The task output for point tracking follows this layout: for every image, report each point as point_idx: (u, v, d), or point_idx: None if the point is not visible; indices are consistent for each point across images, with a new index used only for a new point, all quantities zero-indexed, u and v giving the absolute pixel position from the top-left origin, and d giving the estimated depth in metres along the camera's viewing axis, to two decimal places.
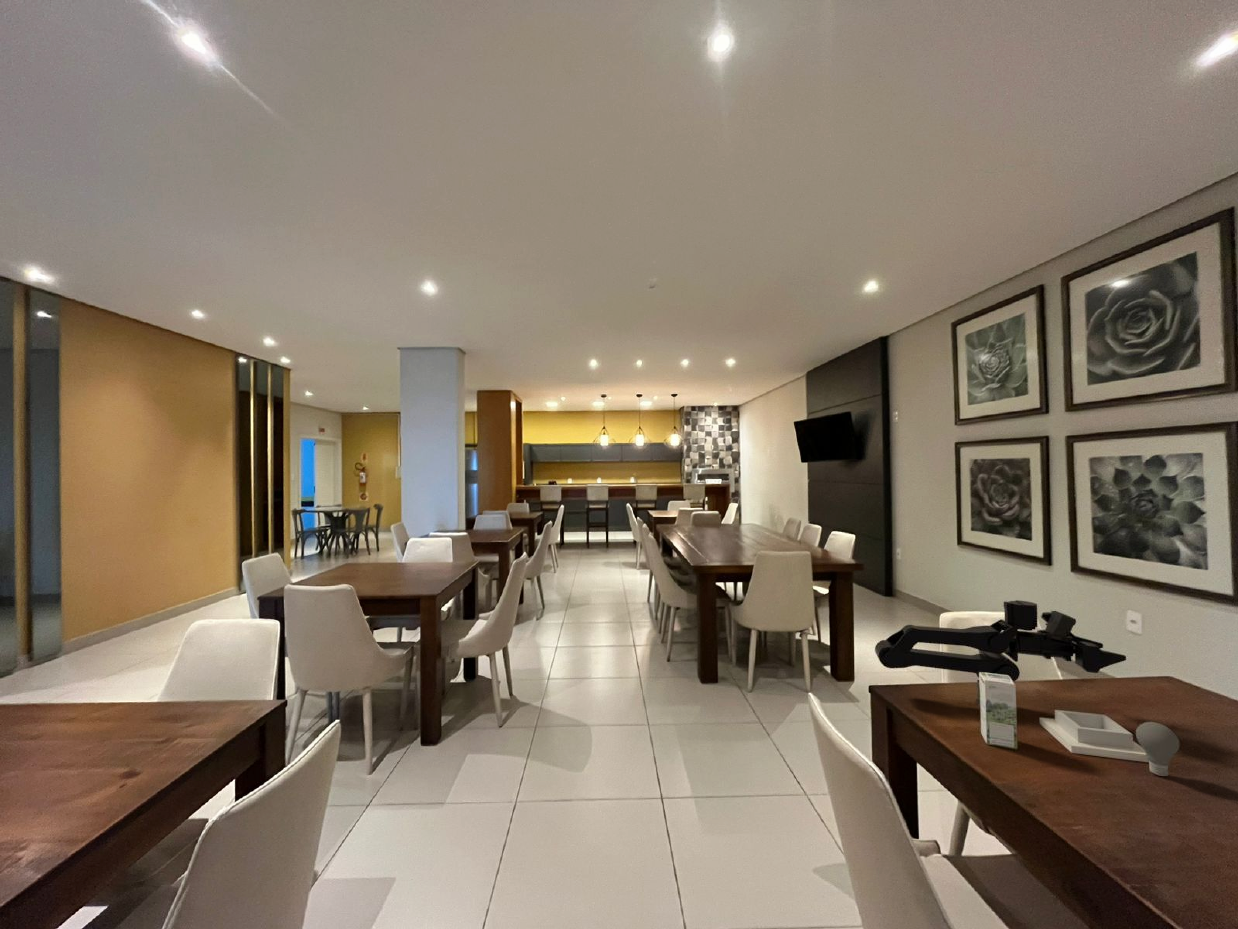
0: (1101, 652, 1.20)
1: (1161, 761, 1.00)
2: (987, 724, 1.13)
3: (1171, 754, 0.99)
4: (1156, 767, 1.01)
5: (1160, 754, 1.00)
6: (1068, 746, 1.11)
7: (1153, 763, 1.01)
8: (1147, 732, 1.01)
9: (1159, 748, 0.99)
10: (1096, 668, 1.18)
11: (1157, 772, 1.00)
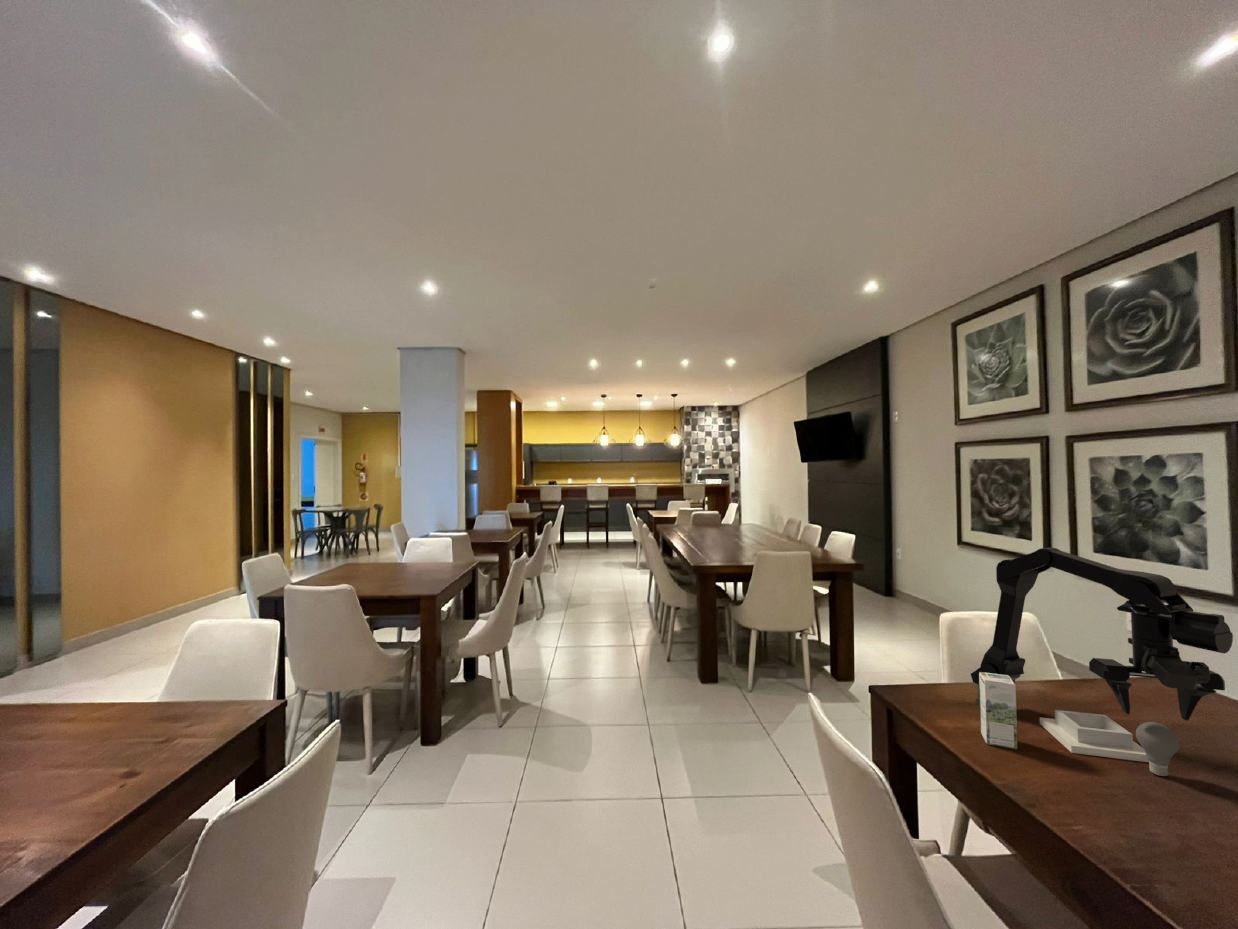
0: (1118, 687, 1.03)
1: (1161, 761, 1.00)
2: (987, 724, 1.13)
3: (1171, 754, 0.99)
4: (1156, 767, 1.01)
5: (1160, 754, 1.00)
6: (1068, 746, 1.11)
7: (1153, 763, 1.01)
8: (1147, 732, 1.01)
9: (1159, 748, 0.99)
10: (1091, 669, 1.07)
11: (1157, 772, 1.00)
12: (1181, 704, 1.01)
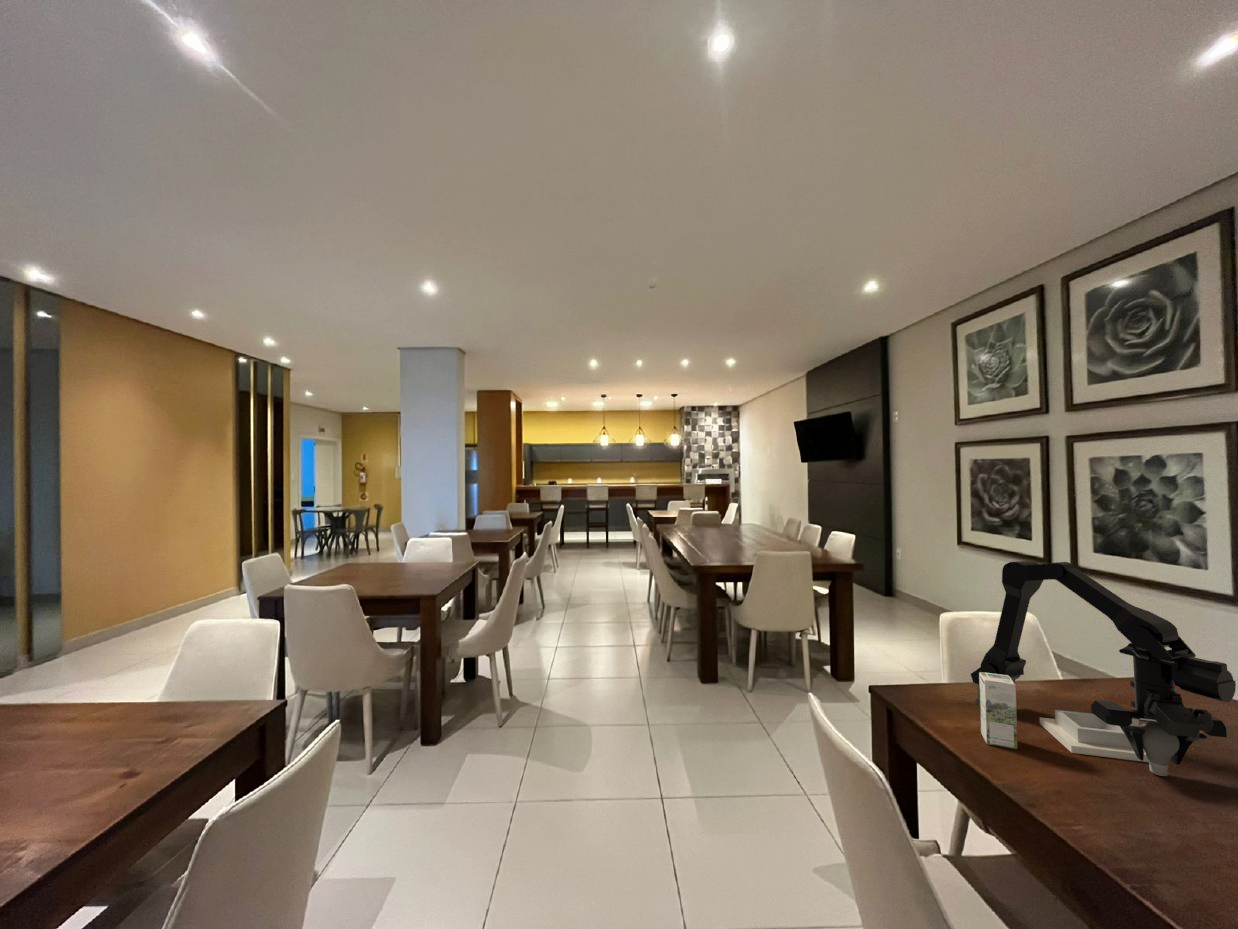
0: (1131, 733, 1.02)
1: (1161, 761, 1.00)
2: (987, 724, 1.13)
3: (1171, 754, 0.99)
4: (1156, 767, 1.01)
5: (1160, 754, 1.00)
6: (1068, 746, 1.11)
7: (1153, 763, 1.01)
8: (1147, 732, 1.01)
9: (1159, 748, 0.99)
10: (1093, 712, 1.06)
11: (1157, 772, 1.00)
12: None
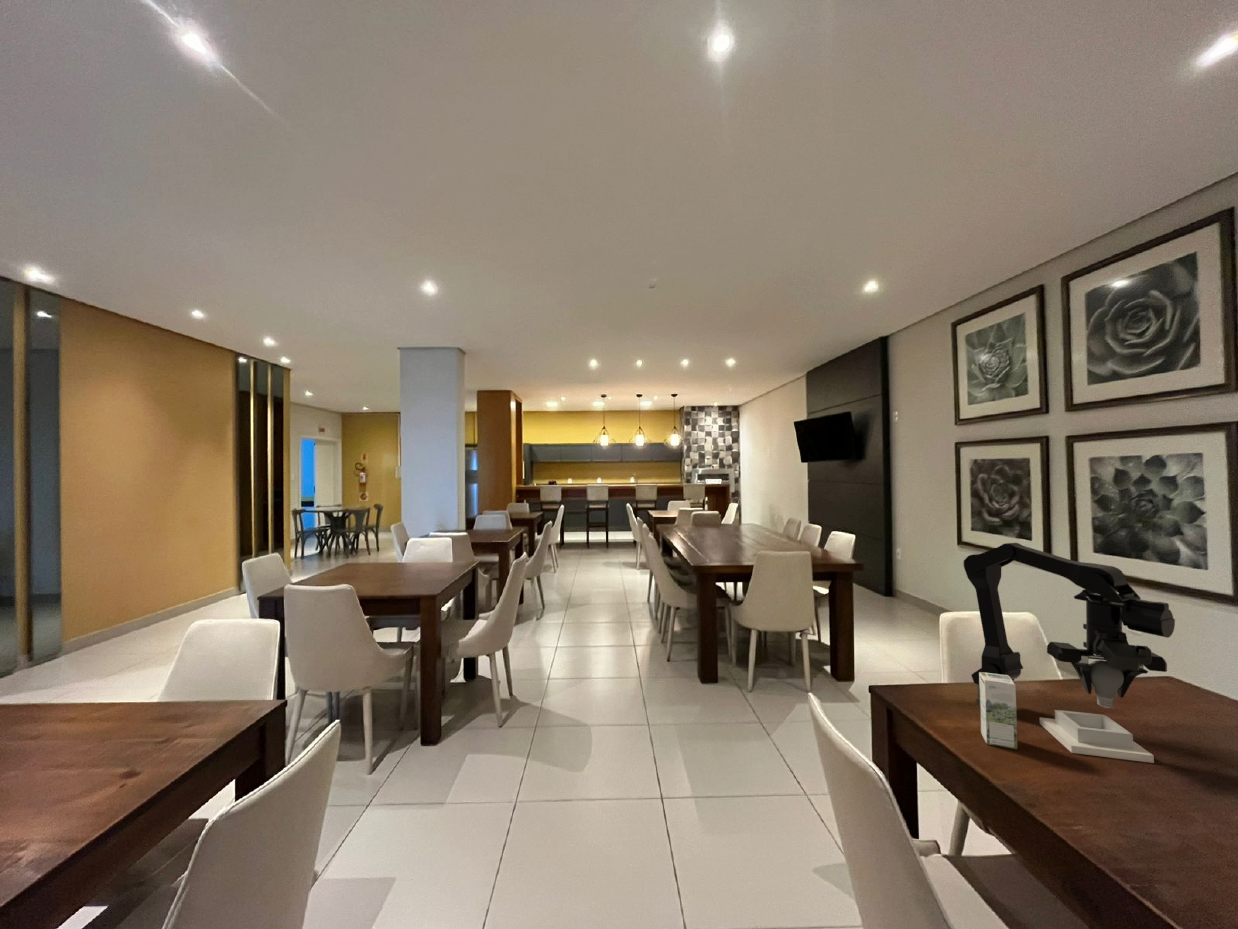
0: (1081, 669, 1.12)
1: (1107, 694, 1.10)
2: (987, 724, 1.13)
3: (1116, 688, 1.09)
4: (1102, 700, 1.11)
5: (1106, 688, 1.09)
6: (1068, 746, 1.11)
7: (1100, 696, 1.11)
8: (1095, 668, 1.11)
9: (1105, 682, 1.09)
10: (1048, 652, 1.16)
11: (1103, 704, 1.10)
12: None
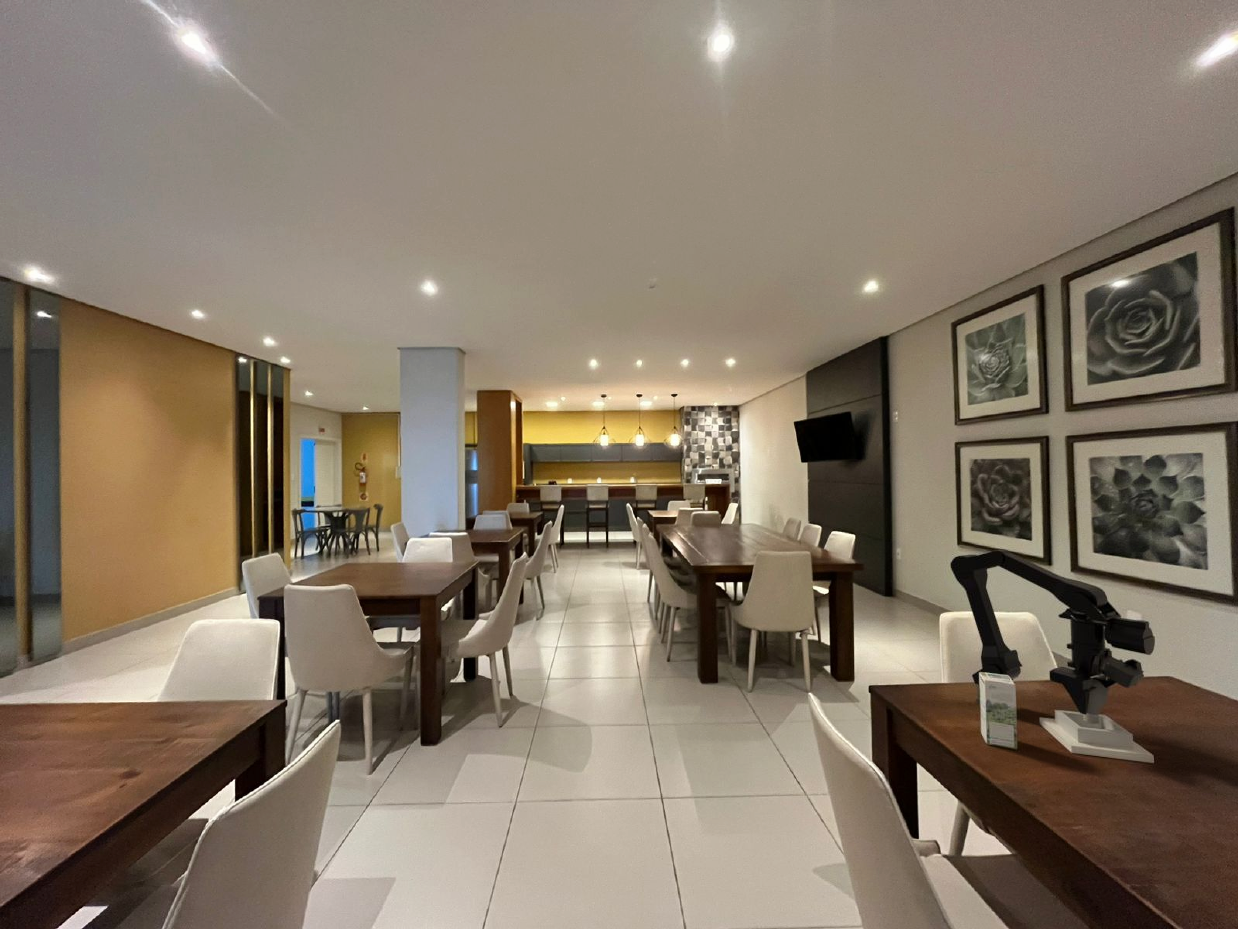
0: (1084, 692, 1.12)
1: (1098, 711, 1.13)
2: (987, 724, 1.13)
3: (1104, 703, 1.13)
4: (1093, 717, 1.13)
5: (1100, 705, 1.12)
6: (1068, 746, 1.11)
7: (1091, 714, 1.13)
8: None
9: (1101, 700, 1.12)
10: (1054, 680, 1.13)
11: (1094, 722, 1.13)
12: None
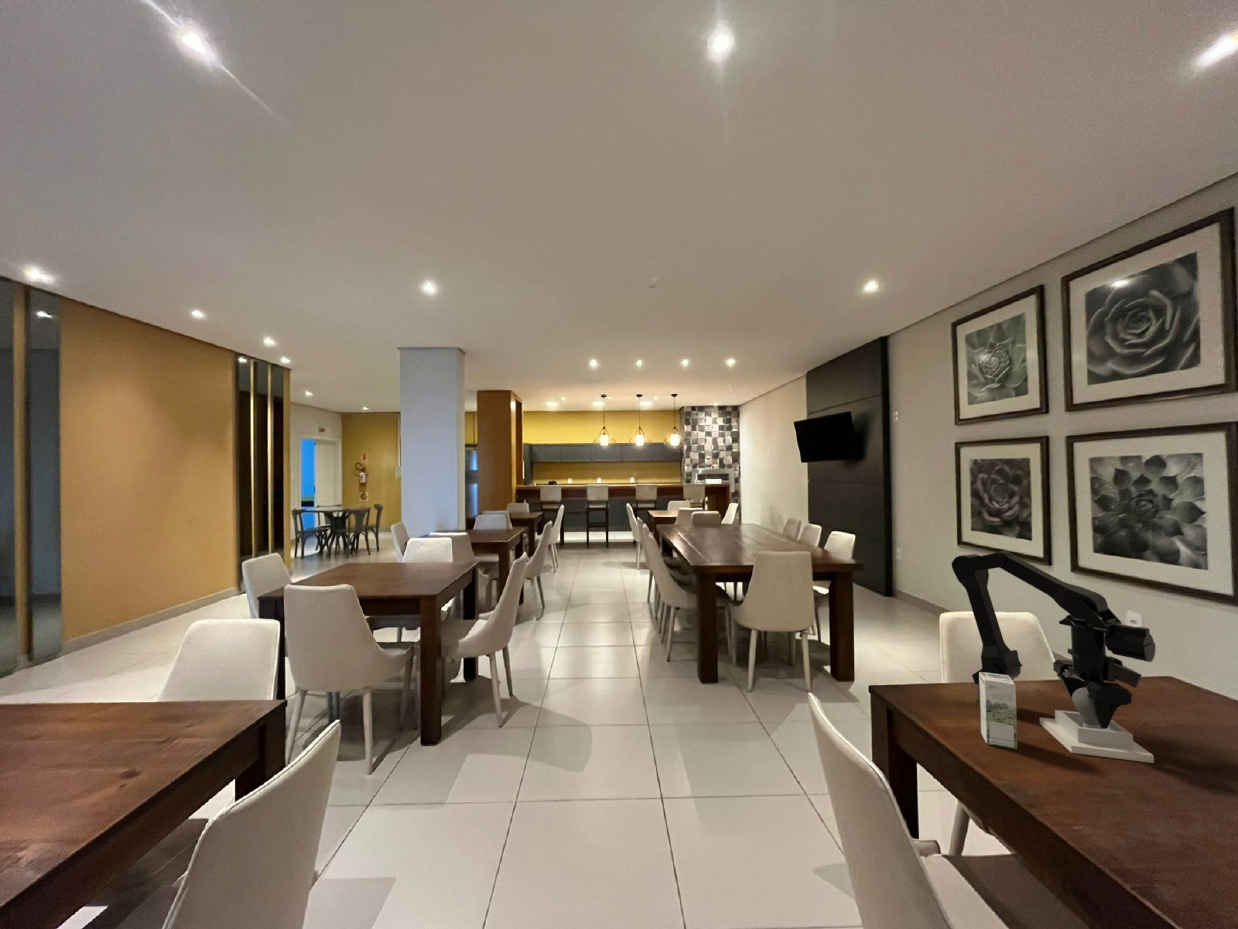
0: (1115, 706, 1.08)
1: None
2: (987, 724, 1.13)
3: None
4: None
5: None
6: (1068, 746, 1.11)
7: (1097, 725, 1.13)
8: None
9: None
10: (1105, 699, 1.06)
11: None
12: None
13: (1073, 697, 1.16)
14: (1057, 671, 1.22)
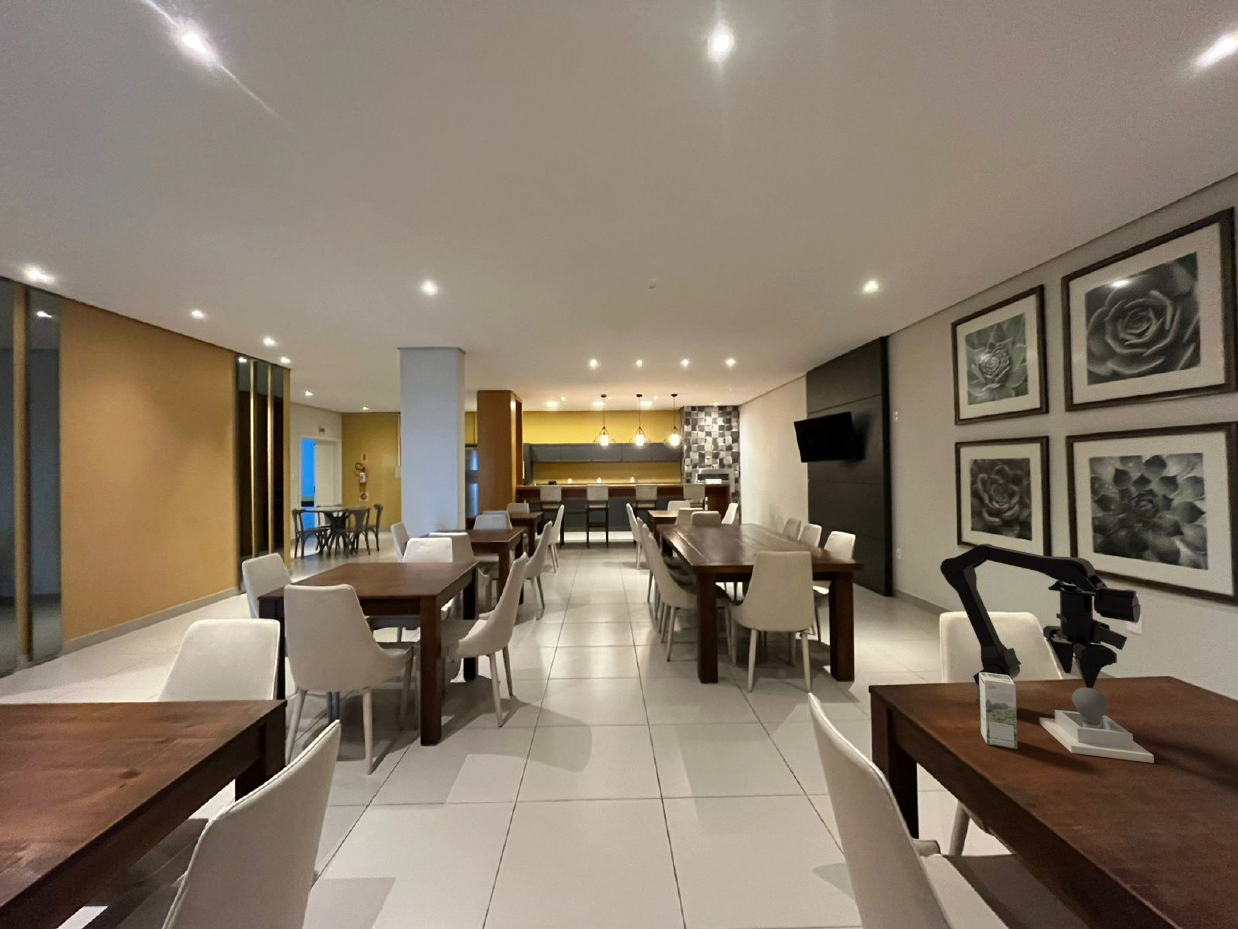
0: (1100, 667, 1.11)
1: None
2: (987, 724, 1.13)
3: None
4: None
5: None
6: (1068, 746, 1.11)
7: (1097, 725, 1.13)
8: (1101, 699, 1.12)
9: (1107, 708, 1.13)
10: (1090, 659, 1.10)
11: None
12: (1063, 661, 1.22)
13: (1073, 697, 1.16)
14: (1046, 636, 1.26)
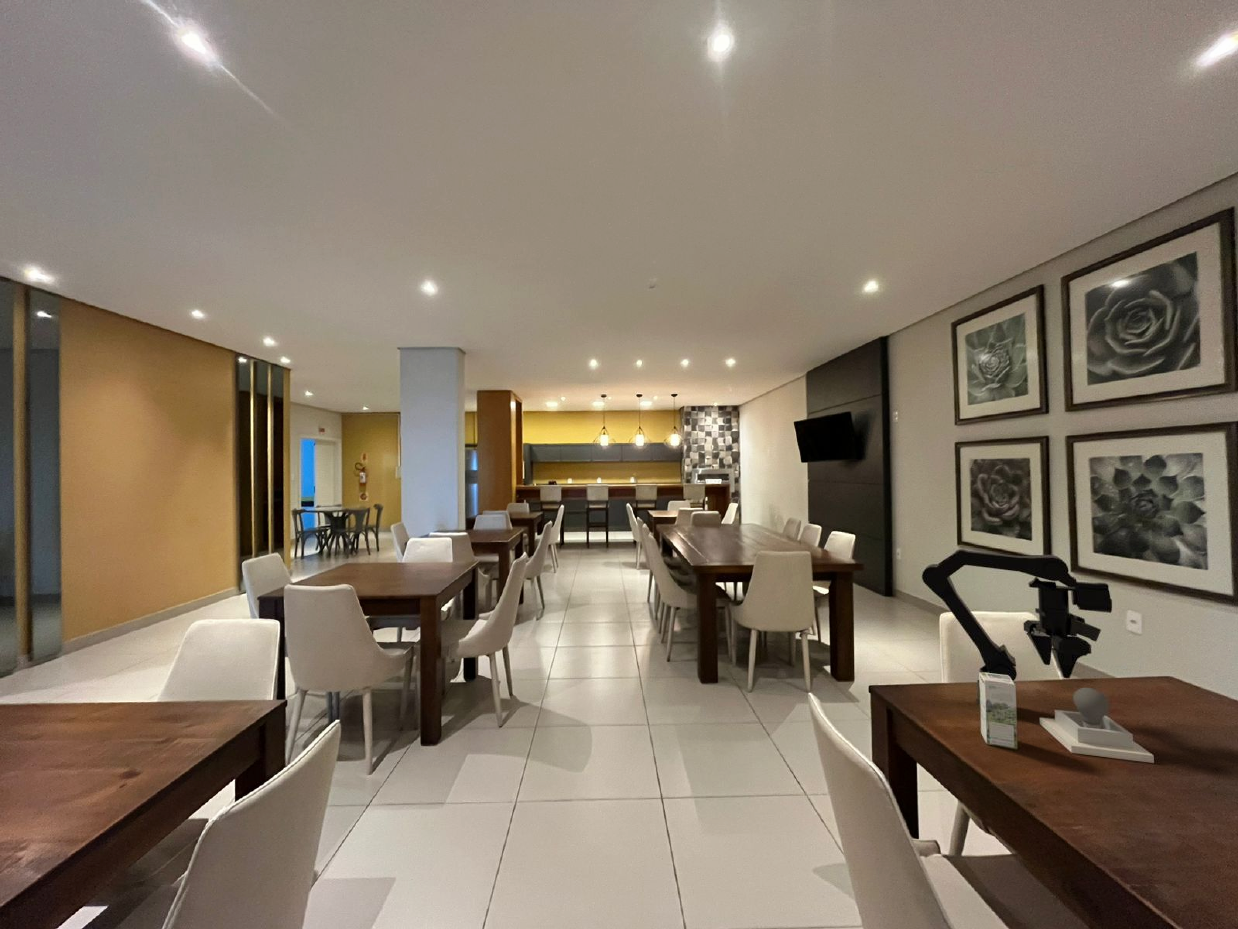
0: (1076, 657, 1.18)
1: None
2: (987, 724, 1.13)
3: None
4: None
5: None
6: (1068, 746, 1.11)
7: (1097, 725, 1.13)
8: (1103, 700, 1.12)
9: (1108, 709, 1.13)
10: (1066, 650, 1.17)
11: None
12: (1043, 654, 1.29)
13: (1074, 697, 1.16)
14: (1027, 630, 1.32)
